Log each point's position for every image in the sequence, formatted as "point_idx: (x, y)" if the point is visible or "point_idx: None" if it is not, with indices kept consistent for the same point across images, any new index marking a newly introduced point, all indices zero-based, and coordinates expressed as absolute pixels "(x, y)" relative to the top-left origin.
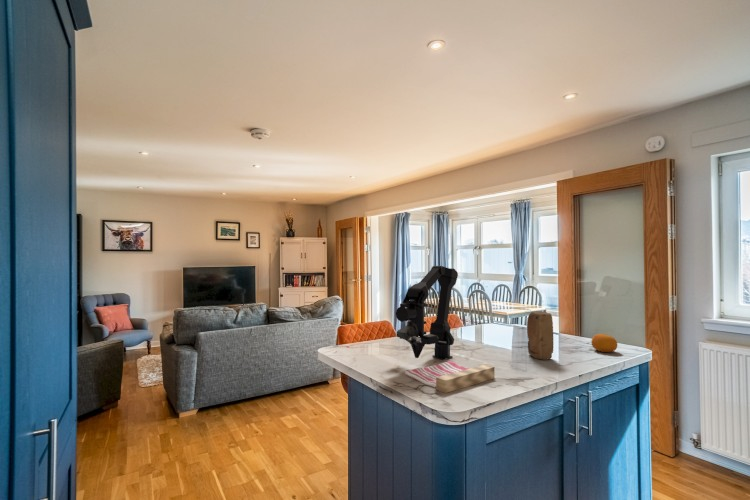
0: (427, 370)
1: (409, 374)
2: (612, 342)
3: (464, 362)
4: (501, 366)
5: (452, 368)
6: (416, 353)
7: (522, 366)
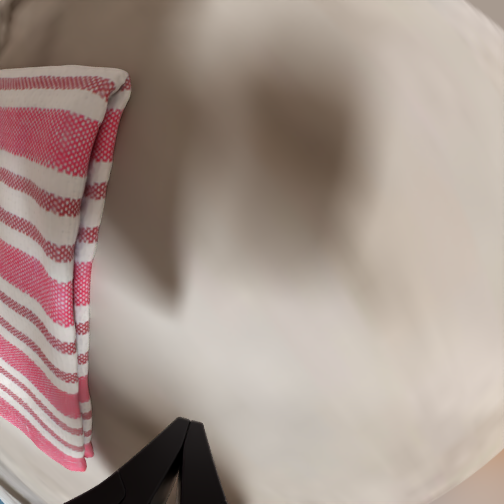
0: (36, 277)
1: (73, 67)
2: None
3: None
4: (22, 475)
5: (20, 400)
6: (152, 448)
7: (11, 478)
